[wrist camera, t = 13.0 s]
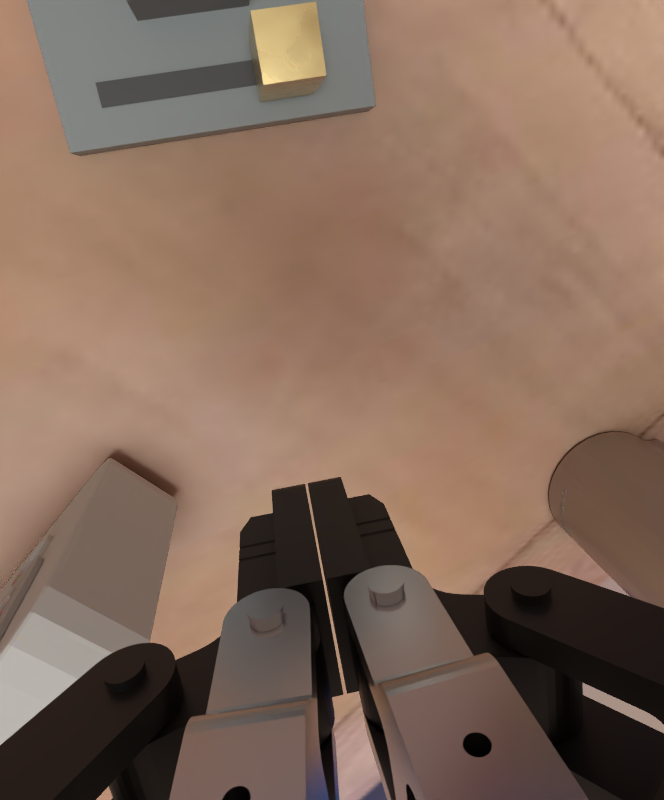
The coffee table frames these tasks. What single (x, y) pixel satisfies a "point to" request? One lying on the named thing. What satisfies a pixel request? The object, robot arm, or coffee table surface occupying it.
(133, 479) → the rounded white slab
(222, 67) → the control board
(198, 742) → the robot arm
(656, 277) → the coffee table surface
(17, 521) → the coffee table surface
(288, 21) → the gold rectangular block
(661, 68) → the coffee table surface
